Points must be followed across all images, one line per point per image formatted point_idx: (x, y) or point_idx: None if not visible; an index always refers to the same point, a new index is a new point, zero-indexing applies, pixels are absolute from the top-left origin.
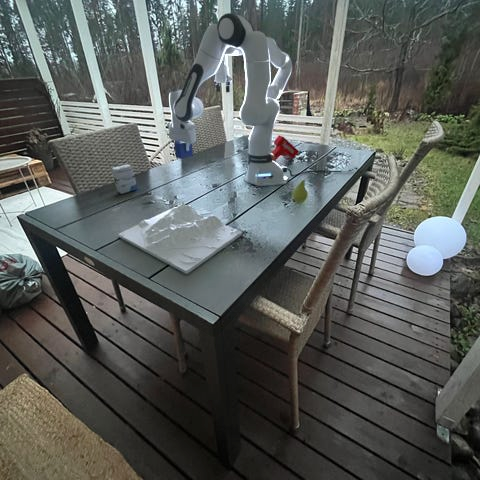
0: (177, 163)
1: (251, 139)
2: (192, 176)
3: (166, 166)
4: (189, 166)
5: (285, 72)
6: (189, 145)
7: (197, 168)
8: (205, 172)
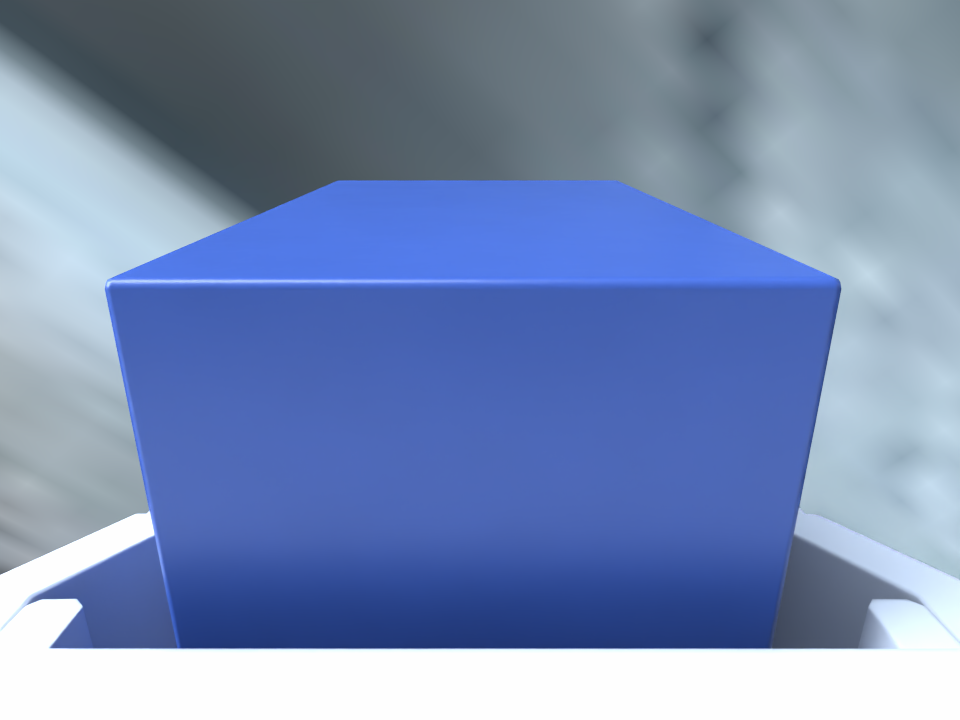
0: (31, 170)
1: None
2: (838, 447)
3: (81, 419)
4: (383, 133)
5: None
6: (912, 561)
7: (612, 108)
8: (911, 170)
